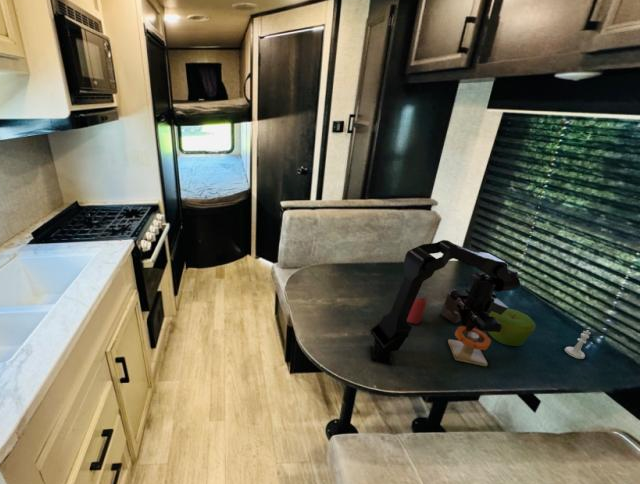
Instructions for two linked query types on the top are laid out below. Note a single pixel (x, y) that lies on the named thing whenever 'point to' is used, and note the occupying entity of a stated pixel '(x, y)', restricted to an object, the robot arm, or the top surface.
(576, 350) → the chess piece
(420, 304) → the beer can
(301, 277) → the top surface
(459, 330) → the ring
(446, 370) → the top surface
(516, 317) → the apple
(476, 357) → the square plate with peg
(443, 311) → the box
